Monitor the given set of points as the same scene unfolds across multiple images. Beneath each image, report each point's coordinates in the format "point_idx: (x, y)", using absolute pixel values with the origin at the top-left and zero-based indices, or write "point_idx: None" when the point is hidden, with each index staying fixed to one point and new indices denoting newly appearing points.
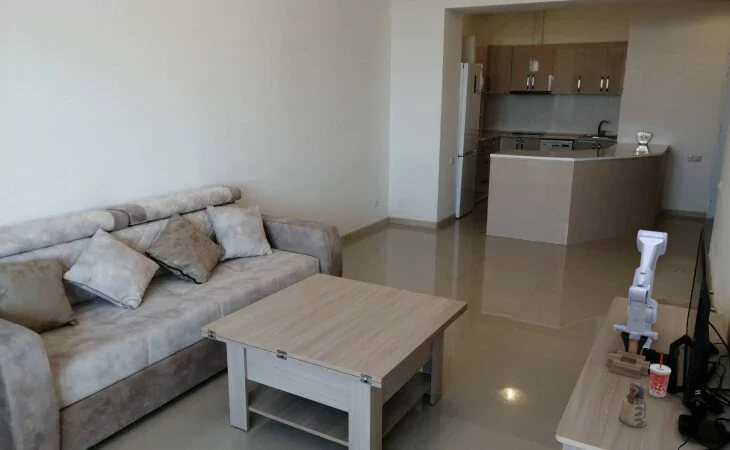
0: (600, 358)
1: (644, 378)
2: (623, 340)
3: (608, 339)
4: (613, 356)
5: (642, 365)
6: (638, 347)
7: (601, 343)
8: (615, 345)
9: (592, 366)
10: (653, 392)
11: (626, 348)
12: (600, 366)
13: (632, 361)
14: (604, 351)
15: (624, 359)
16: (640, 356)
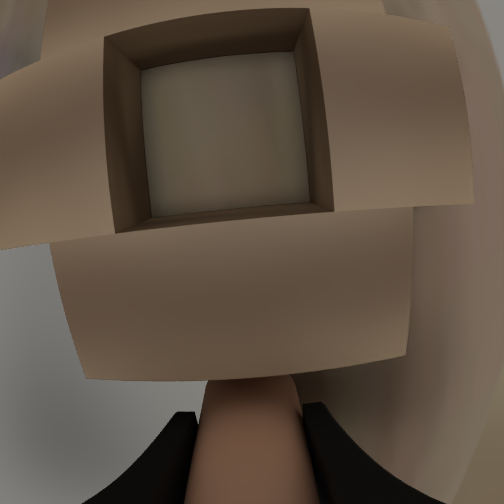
0: (483, 198)
1: None
2: (408, 493)
3: None
4: (420, 110)
5: (33, 88)
6: (187, 486)
7: (469, 444)
8: None
9: (468, 11)
10: None
11: (323, 430)
12: None
13: (187, 220)
14: (466, 358)
15: (289, 210)
16: (120, 348)
